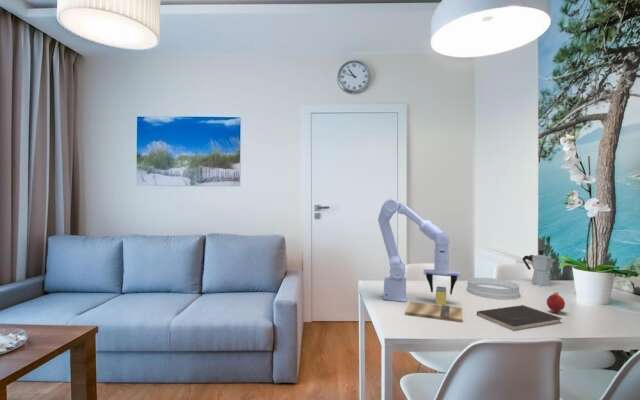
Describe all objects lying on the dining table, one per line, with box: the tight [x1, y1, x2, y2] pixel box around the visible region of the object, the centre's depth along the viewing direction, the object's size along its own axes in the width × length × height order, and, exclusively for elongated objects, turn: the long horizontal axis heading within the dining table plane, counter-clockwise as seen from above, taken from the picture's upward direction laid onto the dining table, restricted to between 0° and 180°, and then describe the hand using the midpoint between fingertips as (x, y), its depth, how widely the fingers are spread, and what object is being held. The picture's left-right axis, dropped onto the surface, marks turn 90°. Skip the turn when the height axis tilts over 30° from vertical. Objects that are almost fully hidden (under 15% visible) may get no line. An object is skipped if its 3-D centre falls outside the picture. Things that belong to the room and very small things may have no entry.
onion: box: [546, 291, 566, 313], centre depth 132 cm, size 6×6×8 cm
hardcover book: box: [476, 304, 563, 331], centre depth 125 cm, size 16×23×2 cm
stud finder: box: [435, 285, 447, 306], centre depth 144 cm, size 4×7×6 cm, turn 158°
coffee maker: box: [522, 249, 556, 287], centre depth 177 cm, size 15×9×18 cm, turn 46°
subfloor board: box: [404, 301, 464, 323], centre depth 131 cm, size 20×14×1 cm
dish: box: [466, 277, 520, 301], centre depth 160 cm, size 22×22×5 cm
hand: (441, 292), depth 144 cm, fingers open, 7 cm apart
